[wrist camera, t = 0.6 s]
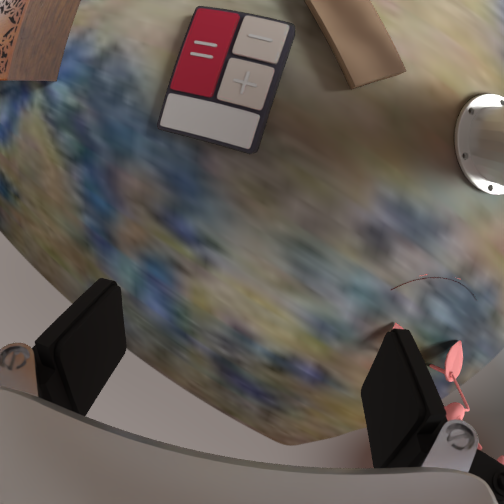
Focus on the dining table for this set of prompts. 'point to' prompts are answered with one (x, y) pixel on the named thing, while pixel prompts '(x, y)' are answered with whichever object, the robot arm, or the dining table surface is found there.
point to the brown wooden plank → (357, 40)
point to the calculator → (226, 77)
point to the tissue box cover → (34, 37)
